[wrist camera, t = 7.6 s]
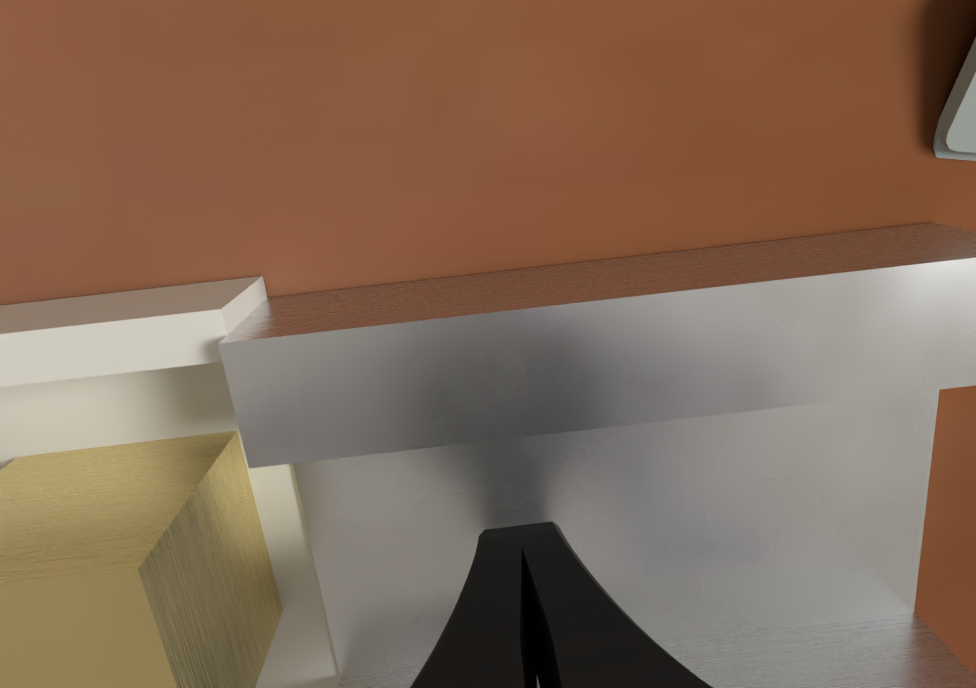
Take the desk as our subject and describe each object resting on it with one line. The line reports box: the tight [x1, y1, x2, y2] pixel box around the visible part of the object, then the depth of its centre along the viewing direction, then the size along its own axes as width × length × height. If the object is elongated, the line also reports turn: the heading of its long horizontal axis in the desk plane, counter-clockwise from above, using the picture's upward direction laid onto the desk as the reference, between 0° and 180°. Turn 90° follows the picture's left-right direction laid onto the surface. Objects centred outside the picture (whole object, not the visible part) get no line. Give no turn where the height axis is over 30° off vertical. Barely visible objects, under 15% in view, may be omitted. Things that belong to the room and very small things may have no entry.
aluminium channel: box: [218, 222, 976, 688], centre depth 12 cm, size 10×12×3 cm
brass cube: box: [0, 431, 283, 688], centre depth 11 cm, size 4×4×4 cm
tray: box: [0, 276, 340, 688], centre depth 13 cm, size 11×10×2 cm
